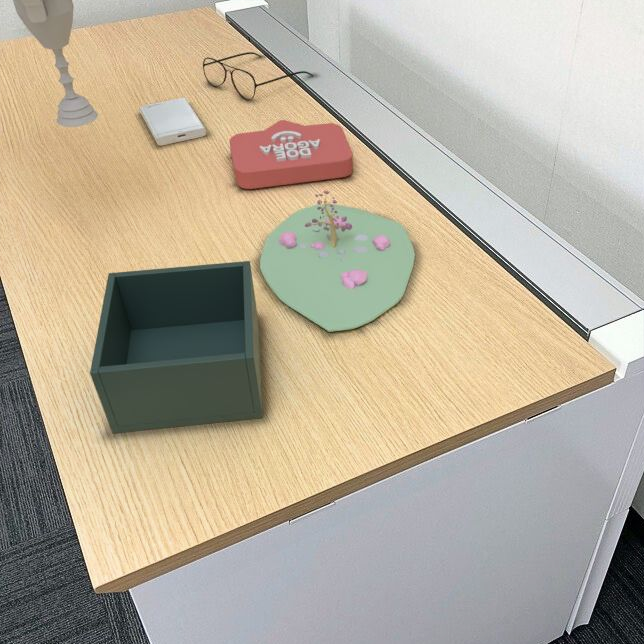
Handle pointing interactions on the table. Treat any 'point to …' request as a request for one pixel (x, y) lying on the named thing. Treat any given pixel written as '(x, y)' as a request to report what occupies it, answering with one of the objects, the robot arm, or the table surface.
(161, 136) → the hard drive
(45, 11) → the robot arm
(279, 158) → the plaque
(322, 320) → the plant
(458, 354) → the table surface
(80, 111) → the chalice
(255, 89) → the glasses
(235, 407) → the tub
